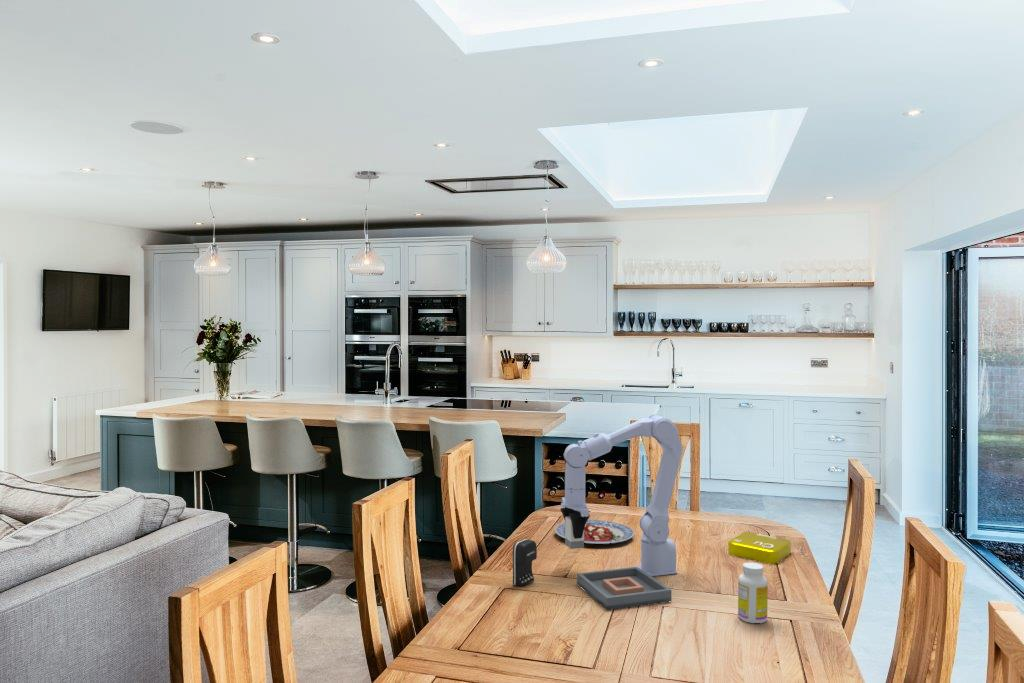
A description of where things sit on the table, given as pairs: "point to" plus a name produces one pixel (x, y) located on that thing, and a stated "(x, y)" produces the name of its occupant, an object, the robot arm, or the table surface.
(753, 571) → the supplement bottle
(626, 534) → the ceramic plate
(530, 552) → the battery charger
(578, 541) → the grey square prism
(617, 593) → the walled box
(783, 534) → the table surface
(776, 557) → the element tile
